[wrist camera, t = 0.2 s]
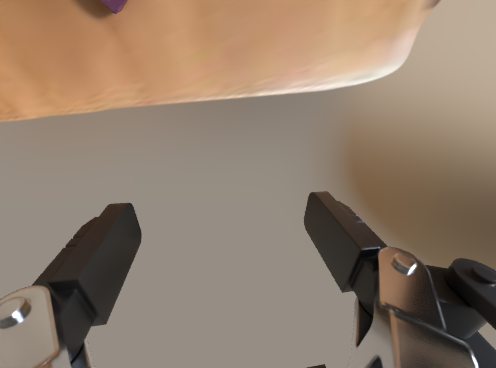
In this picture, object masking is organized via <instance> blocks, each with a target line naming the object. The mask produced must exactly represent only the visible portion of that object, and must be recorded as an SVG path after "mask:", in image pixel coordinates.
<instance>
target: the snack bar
mask: <svg viewBox="0 0 496 368" xmlns="http://www.w3.org/2000/svg"><path fill="white" fill-rule="evenodd" d="M101 1H102V2H103V3H104V4H105V5H106V6H107V7H108V8H109V9H110V10H111V11H112V12H113V13H114V14H117V13H118V12H120V11H121V10H122V8H123V6H124V5H125V3H126V1H127V0H101Z"/></svg>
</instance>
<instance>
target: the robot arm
mask: <svg viewBox="0 0 496 368" xmlns="http://www.w3.org/2000/svg"><path fill="white" fill-rule="evenodd" d="M304 225H305V228H306V231H307V233H308V234H309V236H310V238H311V240H312V241H313V243H314V245H315V246H316V248H317V250H318V252H319V253H320V255H321V257H322V258H323V260H324V262H325V264H326V265H327V267H328V269H329V271H330V272H331V274H332V276H333V277H334V279H335V281H336V283H337V284H338V286H339V287H340V290H341V291H342V293H343V292H349V291H354V292H355V294H356V296H357V297H356V300H355V306H354V320H353V333H352V347H351V354H350V358H349V362H348V365H347V368H496V350H495V349H494V348H493V347H492V346H491V345H490V344H489V343H488V342H487V341H486V340H485V338H483V337H482V335H481V334H480V333H479V332H478V330H479V329H480V328H481V327H483V325H485V324H486V323H487V322H488V323H489V324H490V325H492V327H493V328H494V329H495V330H496V271H495V270H494V269H492V268H490V267H488V266H486V265H484V264H482V263H479V262H476V261H473V260H469V259H463V258H460V259H456V260H454V261H453V263H452V264H451V265H450V266H449V268H448V269H447V268H441V267H435V266H429V265H425V264H424V263H423V262H422V261H421V260H420V259H418V258H417V257H415V256H414V255H412V254H411V253H409V252H407V251H404V250H401V249H398V248H393V247H388V246H387V245H386V244H385V243H384V242H383V241H382V240H381V239H380V238H379V237H378V236H377V235H376V234H375V233H374V232H373V231H372V230H371V229H370V228H369V227H368V226H367V225H366V224H365V223H363V221H362V220H361V219H360V218H359V217H358V216H356V214H355V213H354V212H353V211H352V210H351V209H350V208H349V207H348V206H346V205H344V204H342V203H341V202H339V201H336V200H335V199H334V198H333V197H332V196H331V194H330V193H329V192H327V191H326V192H312V193H310V195H309V197H308V202H307V207H306V211H305V216H304ZM140 243H141V229H140V226H139V223H138V220H137V217H136V214H135V210H134V207H133V205H132V204H131V203H119V204H109V205H108V206H107V207H106V208H105V210H104V211H103V212H102V213H101V215H100V216H99V217H95V218H93V219H92V220H90V221H89V222H87V223H86V224H85V225H83V226H82V227H81V228H80V229H79V231H78V232H77V233H76V234H75V235H74V237H73V239H71V240H70V241H69V242H68V244H67V245H66V247H65V248H63V249H62V250H61V252H60V253H59V254H58V255H57V256H56V258H55V259H54V260H53V261H52V262H51V263H50V265H49V266H48V267H47V268H46V269H45V271H44V272H43V273H42V274H41V275H40V276H39V277H38V279H37V280H36V281H35V282H34V283H33V285H32V286H29V287H25V288H22V289H19V290H16V291H14V292H12V293H10V294H8V295H6V296H4V297H2V298H1V299H0V368H95V365H94V362H93V358H92V354H91V351H90V347H89V344H88V341H87V339H86V336H87V334H88V332H89V330H90V328H91V326H98V325H104V324H106V323H107V321H108V319H109V316H110V314H111V312H112V309H113V307H114V304H115V302H116V300H117V297H118V295H119V293H120V291H121V288H122V286H123V284H124V281H125V279H126V276H127V274H128V272H129V269H130V267H131V265H132V262H133V260H134V258H135V255H136V253H137V251H138V248H139V246H140ZM308 368H326V366H325V364H324V365H318V366H313V367H308Z"/></svg>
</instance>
